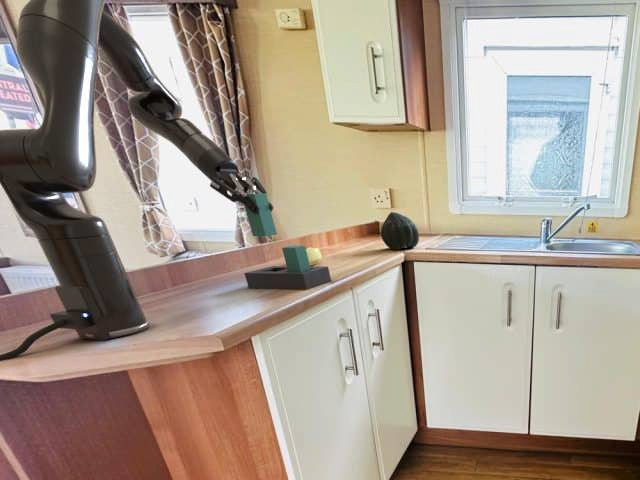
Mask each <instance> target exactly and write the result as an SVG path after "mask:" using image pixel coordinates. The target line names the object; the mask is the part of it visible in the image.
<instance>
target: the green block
mask: <svg viewBox="0 0 640 480" xmlns="http://www.w3.org/2000/svg"><path fill="white" fill-rule="evenodd" d="M246 195H247V197H249V198H251V199H252V200H253V201H254V202H255V203H256V204H257V205H258V206H259V207H260V210H259V212H258V214H254V213H253V212H252V211H250V210H249V209H248V208H247V207H246V206H245V205H244V204H243V206H244V210H245V213H246V217H247V220H248V224H249V227H250V231H251V234H252V237H271V236H275V235H277V229H276V225H275V222H274V218H273V214H272V212H271V210H270V206H269V203H268V201H269V199H268V196H267V194H266V193H259V194H255V193H253V194H246Z"/></svg>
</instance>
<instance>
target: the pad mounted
mask: <svg viewBox="0 0 640 480" xmlns="http://www.w3.org/2000/svg"><path fill="white" fill-rule="evenodd" d="M281 249H282V253H283V258H284V261H285V264H286V265H287V269H288V272H303V271H306V270H310V264H309V260H308V256H307V252H306V249H307V248H306V245H289V246H284V247H281Z"/></svg>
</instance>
